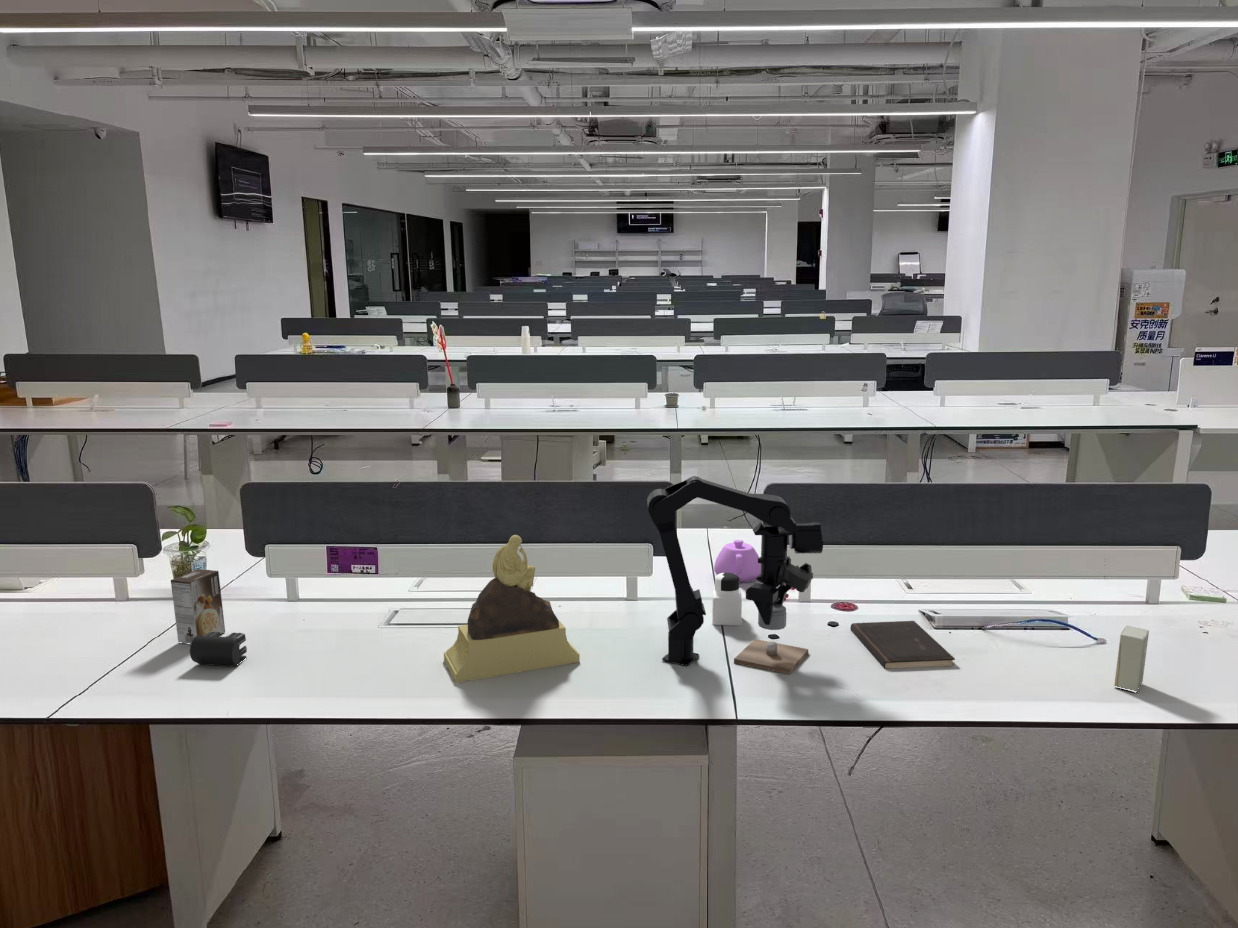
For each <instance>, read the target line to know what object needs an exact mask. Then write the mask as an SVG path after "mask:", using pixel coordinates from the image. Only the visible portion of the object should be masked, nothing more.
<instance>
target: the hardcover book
mask: <svg viewBox="0 0 1238 928" xmlns="http://www.w3.org/2000/svg"><path fill="white" fill-rule="evenodd" d="M849 628H850V629H849V630H850V631H851V632H852V634H853V635H854V636H855V637H856V638H857V639H858V640H859V642H860V643H861V644H862V645H863V646H864V647H865V648H866V650H867V651H868V652H869V654H871V655H872V657H874V659H875V660H876V662H878V663H879V664H880V666H881V667H882V668H883V669H884V670H886V669H897V668H898V669H902V668H904V669H905V668H922V667H923V668H925V667H927V668H929V667H947V666H950V667H951V666H953V663H954V662H953V661H955V660H956V658H955V657H954V656H953V655H952V654H950V653H949V652H948V651H947V650H946V648H945V647H943V646H942V645H941V644H940V643H939V642H938V641H936V640H935V639H934V637H932V636H931V634H929V633H928V632H927V631H926V630H925V629H924V628H922V626H920V625H919V624H918V623H917V622H916V620H901V621H899V620H898V621H897V620H896V621H895V620H894V621H877V622H876V621H873V622H853V623H851V624H850V627H849Z"/></svg>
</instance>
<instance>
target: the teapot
mask: <svg viewBox="0 0 1238 928" xmlns="http://www.w3.org/2000/svg"><path fill="white" fill-rule="evenodd" d="M758 558H760V556H759V554H758V553H757V551H756V549H755V548H754V546H753V545H751V544H749V543H745V542H744V540H743V539H734V540H733V542H730V543H726V544H725V545H723V546H722V548H721V550H720V551H719V552H718V555H717V556H716V558H715V562H714V565H713V566H714V567H713V569H714V570H713V571H714V573H715V574H716V575H718V574H720V573H733V574H736V575H738V577H739V583H748V581H749V582H753V581H755V580H756V579H755V578H757V576H759V575H760V573H761V563H758ZM754 579H755V580H754ZM752 580H753V581H752Z"/></svg>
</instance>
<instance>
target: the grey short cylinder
mask: <svg viewBox="0 0 1238 928" xmlns="http://www.w3.org/2000/svg"><path fill="white" fill-rule="evenodd" d="M757 611H758V610H757ZM757 621H758V622H757V625H758V627H760V628H762V629H764V630H769V631H774V630H775V631H779V630H782V629H783V630H784V629H785V628H786V627H787V608H786V607H785V605H784V604H783V605H779V604H774V605H773V610H772V616H771V621H770V624H769V625H765V624H764V622H763V620H762V617H761V615H760V613H759V611H758V615H757Z"/></svg>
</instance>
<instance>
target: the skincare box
mask: <svg viewBox="0 0 1238 928" xmlns="http://www.w3.org/2000/svg"><path fill="white" fill-rule="evenodd" d="M1149 632H1150V630H1149V629H1145V628H1139V627H1135V626H1129V625H1126V626H1125V627H1124V629H1123V630H1122V632H1121V633H1120V635H1119V636H1120V637H1119V644H1118V645H1119V646H1118V650H1117V651H1118V652H1117V661H1116V670H1115V679H1114V684H1113V687H1114V686H1117V687H1121V688H1125V689H1130V690H1134V691H1137V690H1138V688H1139V687H1140V685H1141V684H1142V685H1143V683H1144V682H1143V681H1144V673H1145V666H1146V658H1147V652H1148V651H1147V649H1148V643H1149V636H1150V635H1149V634H1150V633H1149ZM1142 682H1143V683H1142ZM1142 685H1141V686H1142ZM1140 688H1141V687H1140ZM1138 691H1139V690H1138Z"/></svg>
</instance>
